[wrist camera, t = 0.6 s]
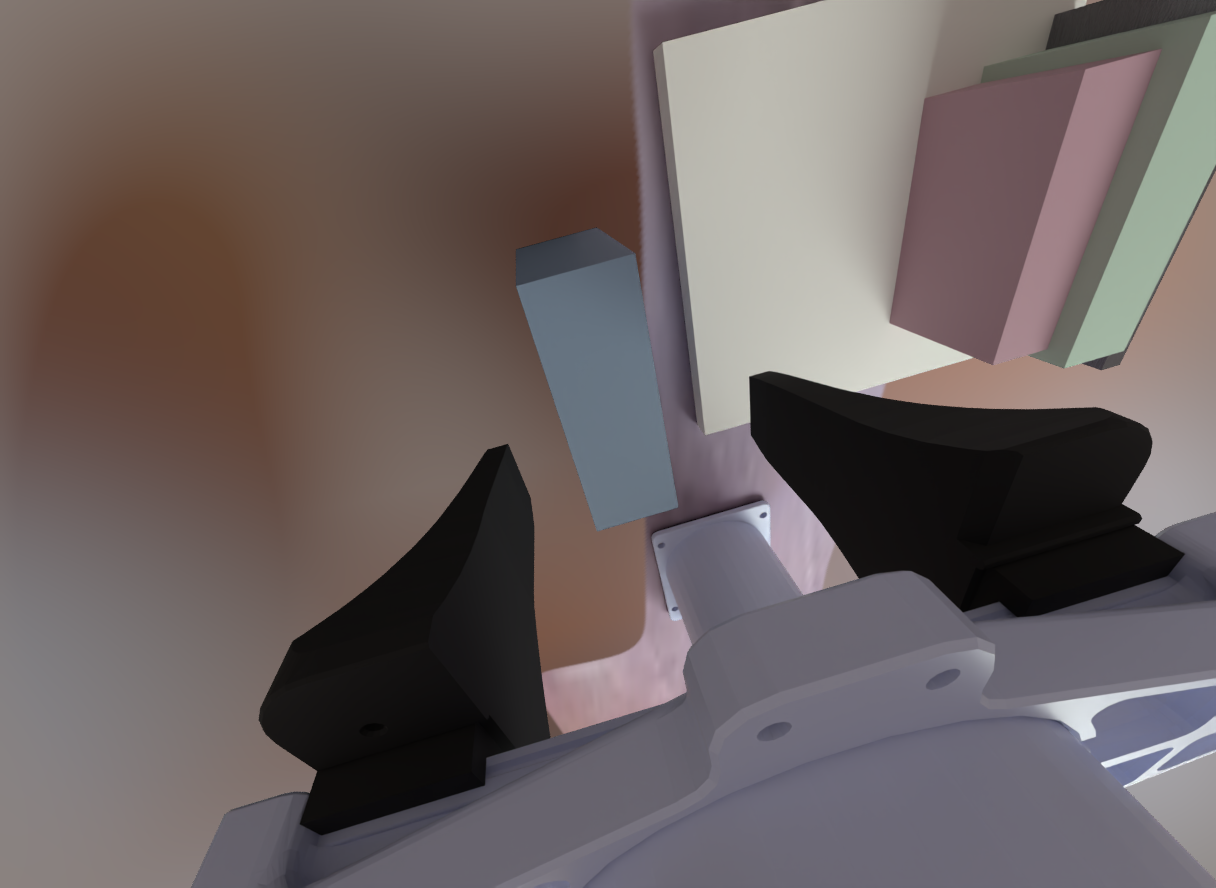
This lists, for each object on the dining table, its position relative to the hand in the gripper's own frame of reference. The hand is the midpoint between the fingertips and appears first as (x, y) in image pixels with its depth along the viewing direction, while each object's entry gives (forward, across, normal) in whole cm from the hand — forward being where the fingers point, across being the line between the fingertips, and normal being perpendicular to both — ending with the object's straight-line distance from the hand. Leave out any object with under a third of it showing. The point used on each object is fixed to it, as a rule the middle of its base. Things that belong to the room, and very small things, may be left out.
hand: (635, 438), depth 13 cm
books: (+8, -17, -2) cm, 19 cm away
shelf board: (+9, -13, -2) cm, 16 cm away
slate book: (+10, 0, 0) cm, 10 cm away
